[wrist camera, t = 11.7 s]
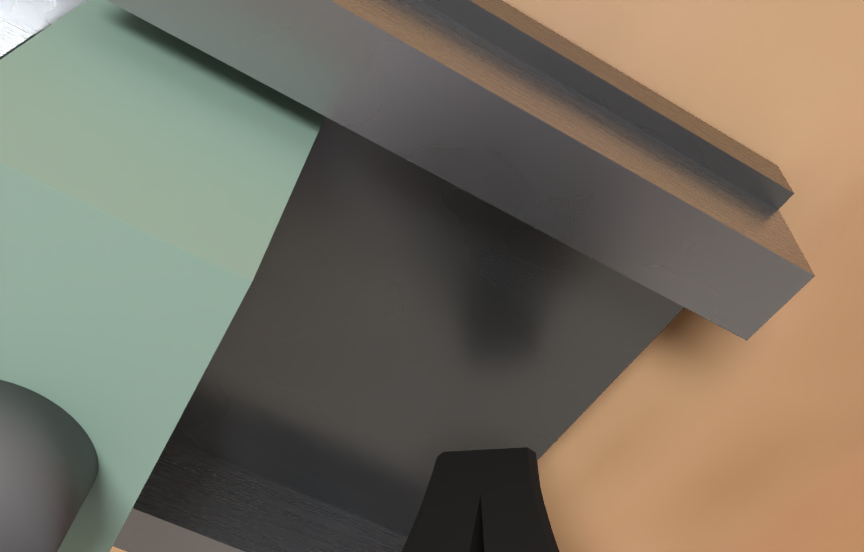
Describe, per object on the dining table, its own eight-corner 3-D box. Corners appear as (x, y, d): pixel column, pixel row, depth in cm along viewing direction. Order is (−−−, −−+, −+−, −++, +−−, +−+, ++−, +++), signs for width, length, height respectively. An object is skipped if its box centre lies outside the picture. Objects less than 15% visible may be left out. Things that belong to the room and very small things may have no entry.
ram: (330, 103, 10) (213, 371, 6) (164, 426, 14) (19, 730, 10) (109, -15, 10) (-193, 193, 6) (-5, 355, 14) (-239, 650, 9)
